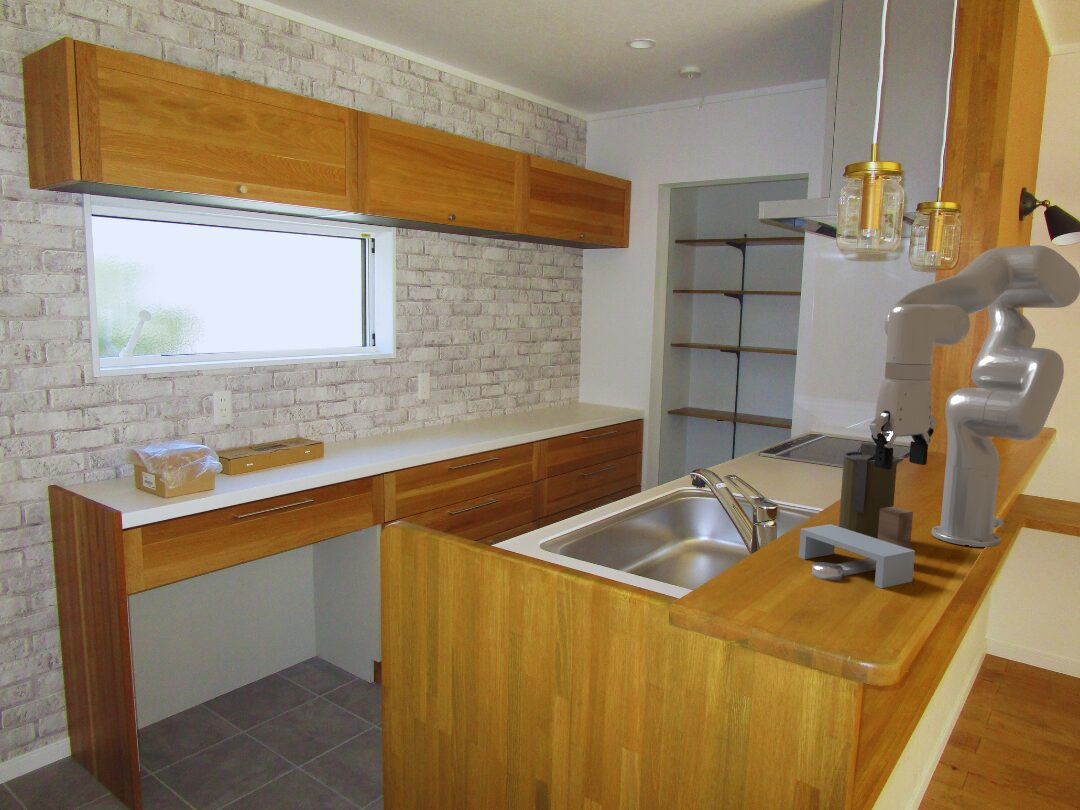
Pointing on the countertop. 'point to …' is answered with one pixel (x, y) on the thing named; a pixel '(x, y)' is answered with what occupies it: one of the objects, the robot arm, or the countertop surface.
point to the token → (827, 571)
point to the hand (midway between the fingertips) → (900, 465)
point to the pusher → (885, 537)
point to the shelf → (860, 552)
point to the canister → (865, 490)
